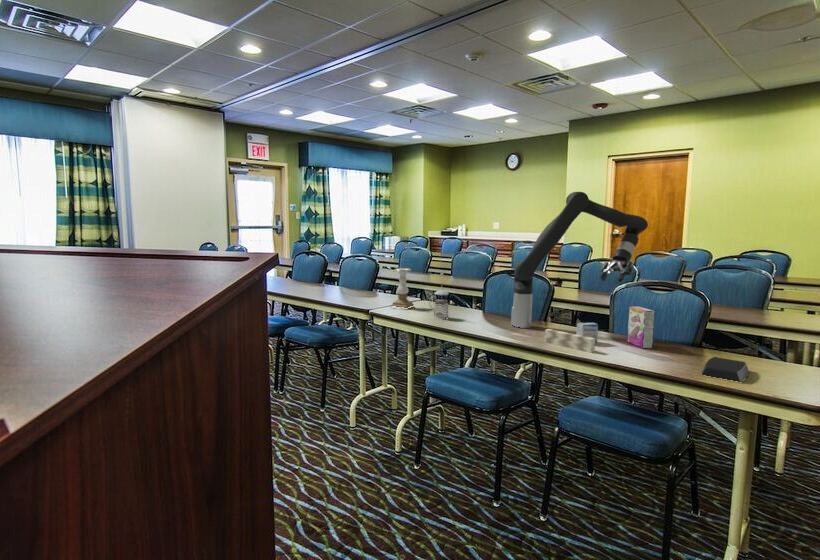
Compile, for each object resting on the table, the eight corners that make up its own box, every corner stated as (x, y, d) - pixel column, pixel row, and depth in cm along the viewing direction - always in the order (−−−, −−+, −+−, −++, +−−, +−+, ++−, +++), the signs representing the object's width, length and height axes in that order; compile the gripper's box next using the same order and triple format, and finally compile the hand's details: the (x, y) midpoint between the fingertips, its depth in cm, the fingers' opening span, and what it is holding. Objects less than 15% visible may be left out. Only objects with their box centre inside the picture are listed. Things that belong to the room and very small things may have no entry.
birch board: (544, 341, 211) (545, 329, 210) (548, 340, 213) (548, 328, 212) (590, 352, 194) (591, 339, 193) (594, 351, 196) (595, 338, 195)
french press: (450, 319, 256) (451, 274, 253) (429, 319, 256) (429, 273, 253) (449, 316, 266) (450, 272, 263) (428, 315, 266) (429, 271, 263)
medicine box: (581, 344, 208) (583, 324, 207) (575, 341, 212) (576, 322, 211) (597, 343, 210) (598, 324, 209) (590, 340, 214) (592, 322, 213)
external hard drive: (750, 372, 172) (751, 361, 172) (743, 385, 158) (744, 373, 158) (709, 364, 181) (710, 354, 181) (698, 376, 167) (699, 365, 166)
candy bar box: (626, 342, 212) (628, 306, 210) (636, 342, 213) (638, 306, 211) (642, 348, 201) (645, 310, 199) (652, 348, 202) (655, 310, 200)
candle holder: (414, 306, 294) (414, 268, 291) (406, 309, 284) (407, 270, 282) (398, 305, 299) (398, 267, 296) (390, 308, 289) (390, 269, 286)
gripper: (606, 248, 229) (593, 275, 224) (634, 248, 217) (621, 276, 212) (613, 257, 233) (600, 284, 228) (641, 258, 221) (628, 286, 216)
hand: (610, 280), depth 220 cm, fingers open, 8 cm apart
